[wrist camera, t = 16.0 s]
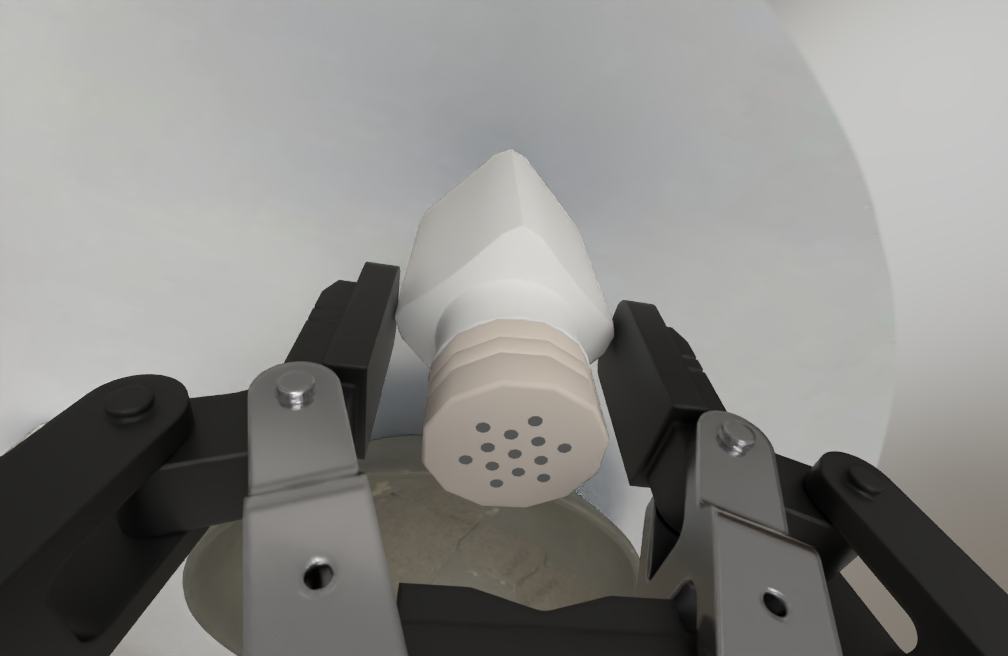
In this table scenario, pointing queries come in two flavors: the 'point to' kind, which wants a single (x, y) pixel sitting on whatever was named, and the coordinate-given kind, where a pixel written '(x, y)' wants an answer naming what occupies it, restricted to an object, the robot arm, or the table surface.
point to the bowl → (442, 546)
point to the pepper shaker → (506, 339)
